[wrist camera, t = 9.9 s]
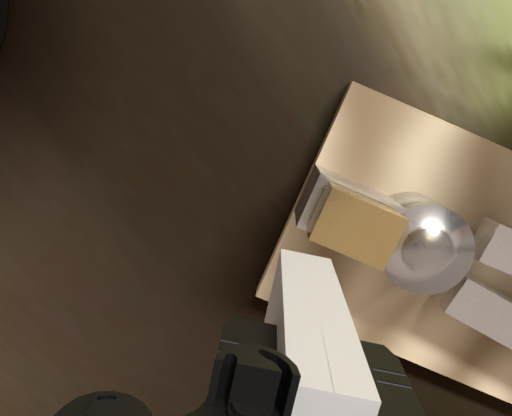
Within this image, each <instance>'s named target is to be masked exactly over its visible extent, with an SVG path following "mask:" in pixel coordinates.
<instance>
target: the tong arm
mask: <svg viewBox="0 0 512 416" xmlns="http://www.w3.org/2000/svg"><path fill="white" fill-rule="evenodd" d="M434 300H435V301H436V303H437V304H438V305H439V306H440V308H441V309H442V310H443V311H444V312H445V313H446V314H448V315H450V316H452V317H454V318H455V319H457V320H459V321H461V322H463V323H464V324H466V325H468V326H470V327H472V328H473V329H475V330H477V331H479V332H481V333H482V334H484V335H486V336H488V337H490V338H491V339H493V340H495V341H497V342H499V343H500V344H502V345H504V346H506V347H508V348H509V349H511V350H512V299H511V298H509V297H507V296H505V295H504V294H502V293H500V292H498V291H497V290H495V289H493V288H491V287H489V286H488V285H486V284H484V283H482V282H481V281H479V280H477V279H475V278H473V277H472V276H470V275H468V274H466V276H465V277H464V278H463V279H462V280H461V281H460V282H459V283H458V284H456V285H455V286H454V287H452V288H450V289H448V290H446V291H444V292H441V293H437V295H436V296H435V298H434Z"/></svg>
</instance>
